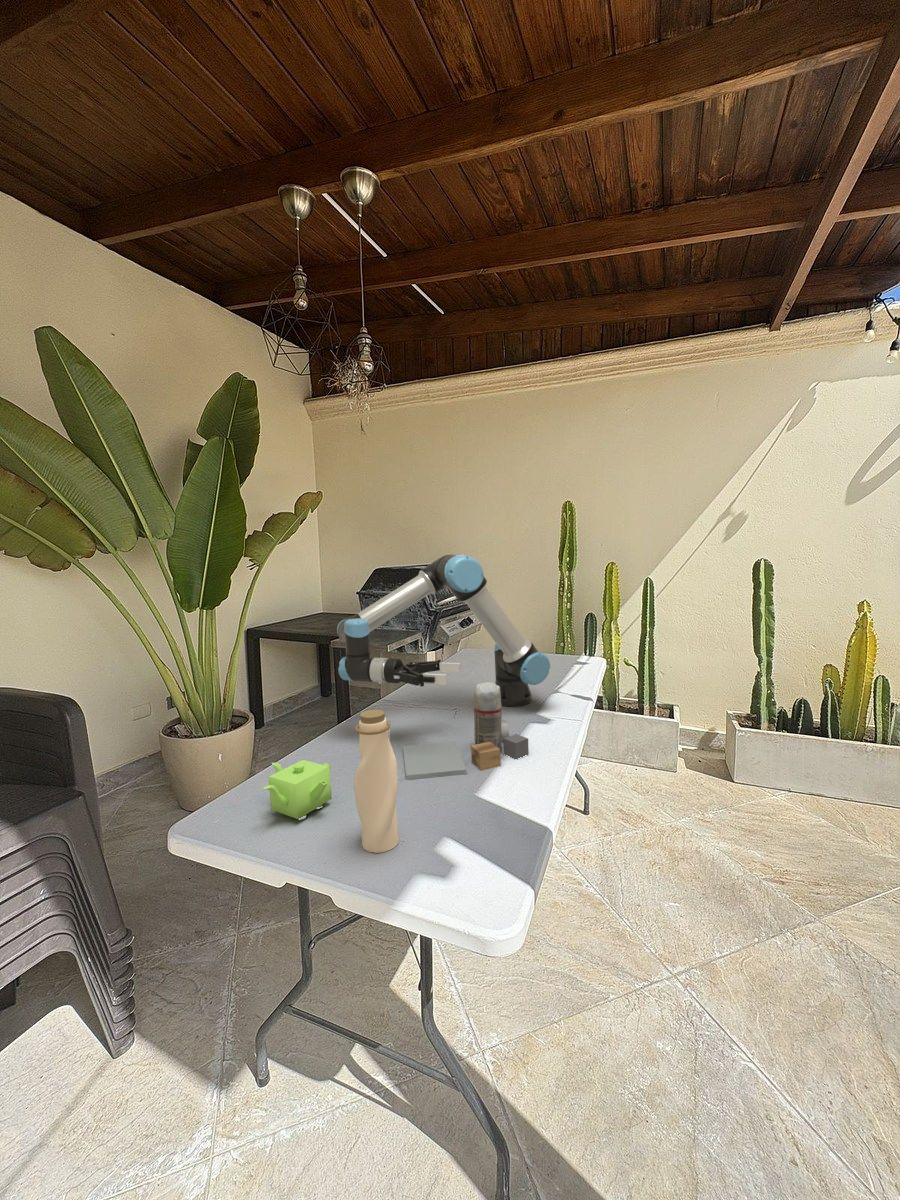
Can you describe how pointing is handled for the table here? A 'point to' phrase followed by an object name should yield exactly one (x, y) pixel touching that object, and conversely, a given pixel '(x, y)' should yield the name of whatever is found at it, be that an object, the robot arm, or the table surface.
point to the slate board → (433, 760)
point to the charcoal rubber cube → (516, 746)
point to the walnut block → (485, 755)
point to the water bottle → (376, 783)
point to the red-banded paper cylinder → (487, 714)
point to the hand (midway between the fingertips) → (453, 673)
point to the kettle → (299, 788)
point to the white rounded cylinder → (504, 729)
